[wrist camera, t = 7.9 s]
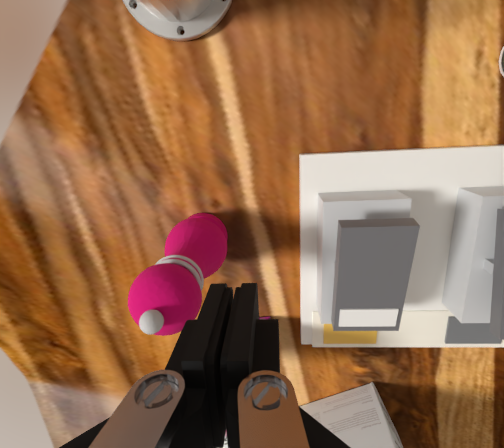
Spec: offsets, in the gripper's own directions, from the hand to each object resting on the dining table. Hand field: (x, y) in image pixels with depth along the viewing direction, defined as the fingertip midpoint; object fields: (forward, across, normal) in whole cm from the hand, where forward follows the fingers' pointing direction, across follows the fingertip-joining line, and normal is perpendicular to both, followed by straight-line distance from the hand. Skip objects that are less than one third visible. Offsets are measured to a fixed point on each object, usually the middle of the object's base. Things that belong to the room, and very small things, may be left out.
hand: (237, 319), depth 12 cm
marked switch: (+21, -11, +9) cm, 25 cm away
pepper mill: (+29, +8, +7) cm, 31 cm away
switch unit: (+29, -19, +10) cm, 36 cm away
